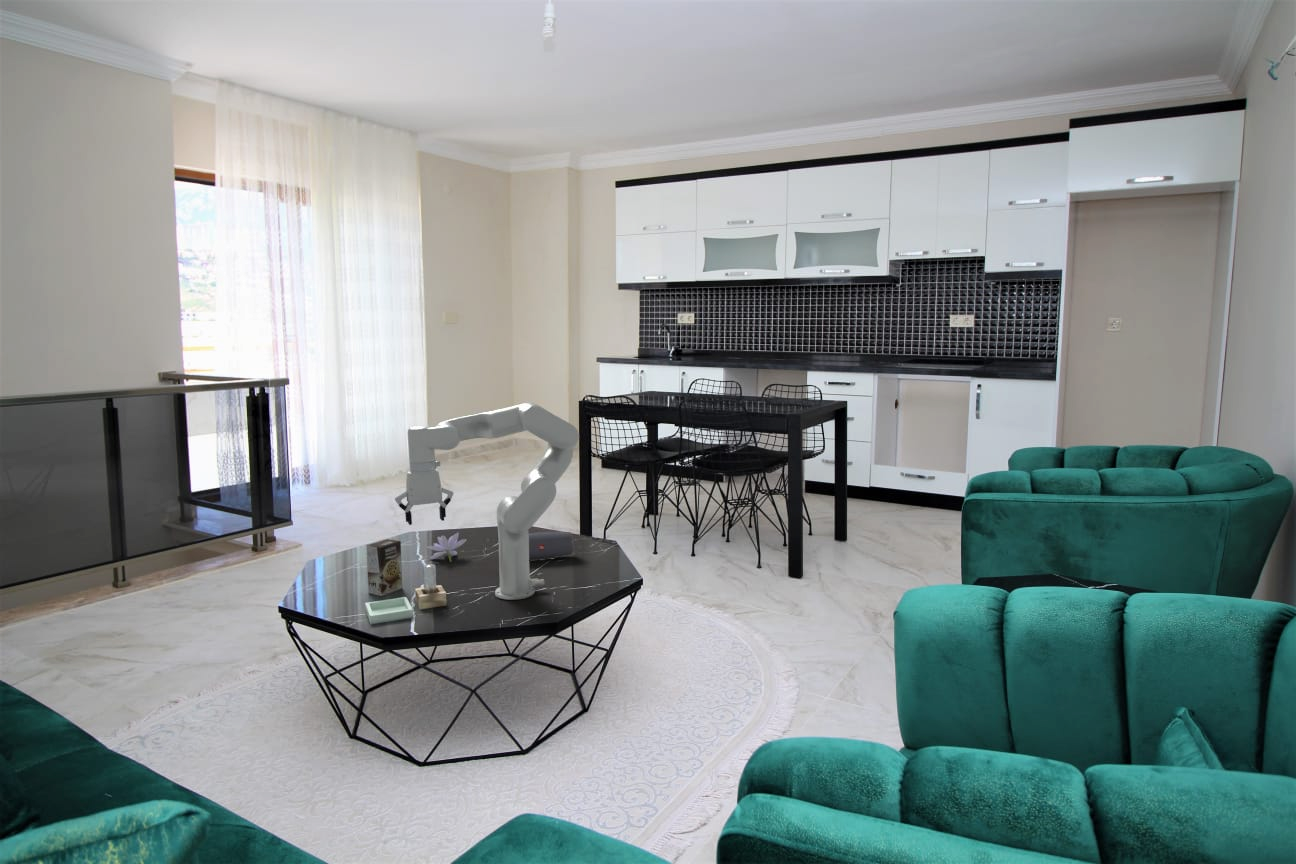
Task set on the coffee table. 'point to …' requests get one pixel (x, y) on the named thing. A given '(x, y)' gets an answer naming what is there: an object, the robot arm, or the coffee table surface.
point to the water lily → (446, 546)
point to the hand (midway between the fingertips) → (426, 521)
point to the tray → (388, 610)
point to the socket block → (430, 598)
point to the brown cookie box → (384, 567)
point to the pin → (429, 578)
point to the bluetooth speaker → (549, 545)
